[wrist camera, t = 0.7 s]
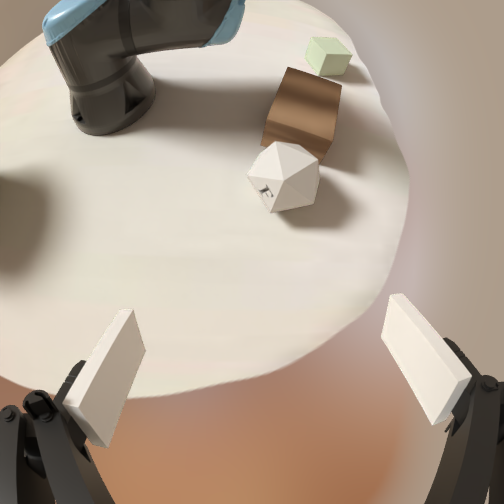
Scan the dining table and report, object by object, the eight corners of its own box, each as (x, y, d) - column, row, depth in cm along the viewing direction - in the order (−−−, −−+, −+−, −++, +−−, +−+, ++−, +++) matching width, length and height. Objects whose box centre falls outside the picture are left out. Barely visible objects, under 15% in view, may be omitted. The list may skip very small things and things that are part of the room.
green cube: (304, 58, 47) (311, 37, 41) (328, 58, 48) (336, 37, 42) (318, 76, 46) (326, 53, 40) (342, 75, 47) (352, 54, 41)
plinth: (319, 164, 40) (332, 141, 34) (260, 145, 39) (266, 118, 34) (330, 108, 43) (341, 85, 37) (281, 91, 43) (287, 66, 37)
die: (243, 165, 39) (227, 168, 30) (297, 132, 36) (298, 125, 27) (275, 215, 41) (268, 234, 32) (329, 184, 38) (340, 194, 29)
